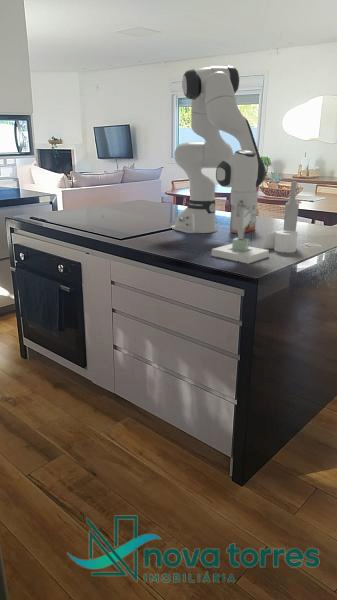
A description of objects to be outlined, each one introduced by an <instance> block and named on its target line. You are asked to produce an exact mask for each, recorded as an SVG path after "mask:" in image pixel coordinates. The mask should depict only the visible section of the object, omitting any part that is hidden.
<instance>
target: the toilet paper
mask: <svg viewBox="0 0 337 600" xmlns="http://www.w3.org/2000/svg"><path fill="white" fill-rule="evenodd" d="M298 235H299V234H298V232H297V231H296V232H295V231H287V230H284V229H282V230H276V231H271V232H268V233H266V234H265V239H264V243H263V248H262V249H265V250H268V249H274V251H275V252H277V253H278V252H279V253H284V252H286V253H290V254H291V253H295V252H297V245H298V244H297V243H298ZM286 253H285V254H286Z"/></svg>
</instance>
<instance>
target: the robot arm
mask: <svg viewBox="0 0 337 600" xmlns="http://www.w3.org/2000/svg"><path fill="white" fill-rule="evenodd" d="M239 87H240V74H239V71H238V69H237V68H236V67H235V66H232V65H225V66H223V65H211V66H207V67H205V66H204V67H201V68H196V69H195V68H191V69H189V70H186V71H185V72H184V74H183V77H182V80H181V89H182V92H183V95H184V96H185V97H186V98H187V100H188V99H189V100H191V105H190V106H191V110H190V111H191V113H190V115H191V116H190V119H191V120H190V121H191V122H190V123H191V124H190V125H191V126H190V127H191V130H192V132H193V133H195V134H196V135H198V136H199V137H201V138H203V140H204V142H203V141H202V142H201V141H199V142H198V141H197V142H196V141H195V142H194V141H189V142H184V143H179V144H178V145H177V146H176V148H175V150H174V161H175V164H176V165H177V166H178V167H180V169H182V170H183V171H184V173H185V174H186V176H187V178H188V181H189V190H190V191H189V192H190V194H189V196H190V197H189V200H185V204H187V206H186V208H185V209H183V210H182V211H181V212H180V213H179V214H177V215H176V218H175V224H172V225H171V226H170V229H171V228H172V230H174V231H178V232H182V233H186V234H208V233H216V232H217V231H218V229H217V226H216V225H217V224H216V217H215V210H216V200H215V196H216V194H215V193H216V183H215V181H214V180H213V179H212V178H211V177H210V176H207V175H205V174H204V173H203V172H202V169H216V170H215V178H216V182H217V183H218V184H219V186H221V187H224V188H231V189H230V203H229V205H230V206H231V205H234V211H233V221H232V229H233V230H237V231H238V234H237V238H238V239H243V238H245V233H246V232H245V226H246V225H247V224H248V223H249V222H250V220H251V215H252V209H253V205H255V204H256V192H257V189H256V188H257V187H258V186H259V187H260V186H261V185H262V183H263V182H264V181H265V179H266V176H267V170H266V166H265V164H264V162H263V160H262V158H261V156H260V153H259V150H258V147H257V144H256V141H255V137H254V134H253V131H252V128H251V126H250V125H251V124H250V123H249V121H248V119H247V118H246V117H245V116H244V115H243V114H242V113H241V111H240V109H239V106H238V103H237V100H236V99H237V98H236V95H235V94H236V93H237V91H238V90H239ZM220 131H222V132H224V133H227V134H229V135H230V136H232V137H234V138H235V139H236V140H237V141H238V143H239V146H240V150H235V152H234V151H233V148H232V146H231V145H230V144H229V143H227V142H226V141H225V140H224V139H223V137H222V135H221V134H220ZM244 232H245V233H244Z"/></svg>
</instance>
